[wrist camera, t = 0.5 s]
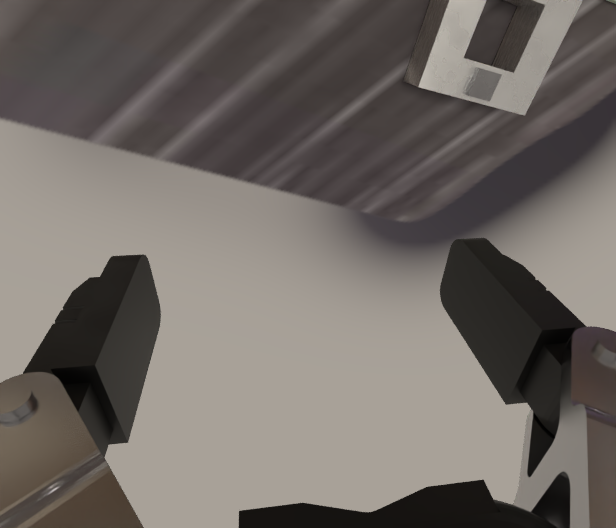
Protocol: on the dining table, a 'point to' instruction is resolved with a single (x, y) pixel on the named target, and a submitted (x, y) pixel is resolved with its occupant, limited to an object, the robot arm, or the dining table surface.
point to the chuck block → (509, 59)
